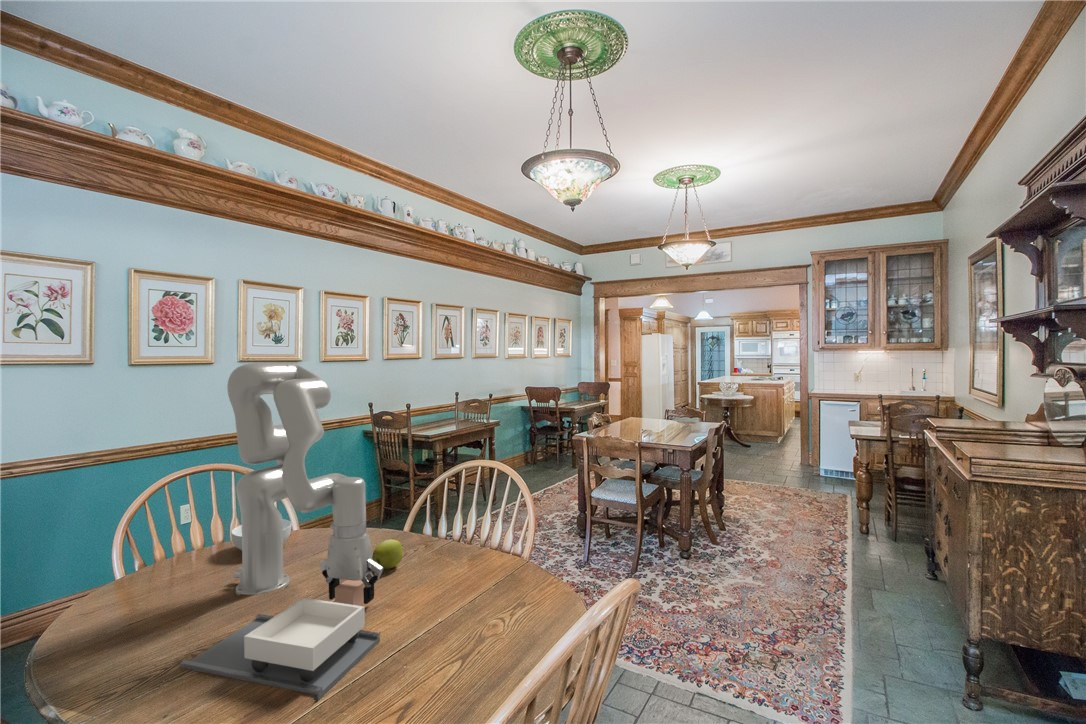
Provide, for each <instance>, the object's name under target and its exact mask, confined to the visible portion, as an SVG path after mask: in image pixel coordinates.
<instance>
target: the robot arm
mask: <svg viewBox="0 0 1086 724" xmlns="http://www.w3.org/2000/svg"><path fill="white" fill-rule="evenodd" d="M226 389H227V394H228V400H229V401H230V405H231V407H232V411H233V413H234V414H233V415H234V419H235V420H234V421H235V430H236V437H237V448H238V453H239V458H240V460H241V462H242V463H244V464H246V465H260V464H267V463H270V462H273V461H276V464H275V465H272V466H267V467H263V468H257V469H255V470H251V471H249V472H247V473H245V474H244V475H243V476H241V477H240V478H239V480H238V481H237V484H236V489H235V491H236V496H237V502H238V504H239V505H238V506H239V509H240V519H241V525H242V550H241V552H242V553H241V555H242V557H241V558H242V559H241V560H242V562H241V563H242V566H239V567H238V568H237V569H236V571H235V572H234V573H233V575H232V577H233V578H234V579H239V583H238V584H237V585H236V587H235V594H236V595H237V596H240V595H247V596H254V595H261V594H265V593H270V592H272V591H275V590H278V589H280V588H286V587H287V586H288V585H290V581H291V578H290V575H289V574H288V573H285V572H284V543H283V525H282V519H283V516H282V514H281V512H280V511H279V510H278V508H277V507H276V505H275V503H276V502H279V501H282V500H285V499H288V501H289V502H290V504H291V506H292V507H293V508H294V510H296V511H297V512H300V513H302V514H307V513H308V514H309V513H311V512H314V511H317V510H320V509H323V508H326V507H328V506H332V523H331V524H330V525H329V527H330V529H331V530H333V531H332V535H330V537H329V543H328V547H327V555H326V557H327V558H326V559H324V560H322V561H321V562H319V564H318V565H319V568H320V570H321V571H322V572H321V574H322V576H323V577H324V578H325V582H326V583H327V584H328V599H329V601H330V600H335V588H336V587H337V586H338V585H340V584H341V583H340V580H344V581H346V580H353V581H359V580H361V581H362V582H363V583H364V585H365V586H366V587H364V589H363V595H364V603H363V604H364V605H368V604H369V603H370V602H371V601H372V600H373V599H374V598H375V584H376V583H377V581H378V580H379V579H380V578H381V576H382V573H383V571H384V569H383V567H382V566H380V565H379V564H377V563H376V562H374V561H373V559H372V556H373V550H372V544H371V539H370V536H369V533H367V504H366V482H365V480H364V479H363V478H362V477H359V476H347V475H344V474H342V473H337V472H334V473H328V474H324V475H320V476H317V477H313V478H310V479H309V478H308V476H307V475H308V474H307V471H306V463H305V458H306V456H307V453H308V451H309V449H310V448H311V447H312V446H313V445H314V444H315V443H317V442H318V441H320V440H321V439H322V438H323V437H324V435H325V430H324V427H323V424H322V422H321V418H320V416H319V414H318V410H317V409H323V408H325V407H327V406H328V405H329V402H330V401H331V396H332V395H331V390H330V387H329V386H328V384H327V383H326V381H325V380H324V379H323V378H321V377H320V376H318V375H316V374H315V373H313V372H312V371H310V370H308V369H306V368H305V367H303V366H301V365H299V364H297V363H294V362H253V363H252V362H251V363H246V364H242V365H240V366H238V367H236V368H235V369H234V370H233V371H232V372H231V373H230V375H229V377H228V379H227V385H226ZM263 395H273V396H272V397H273V400H274V403H275V407H276V410H277V412H278V415H279V418H280V420H281V424H278V425H274V422H273V416H272V410H271V408H270V406H269V405H268V403H267V402H266V401H265V400H264V399H263V398H262V396H263ZM372 572H374V575H373V573H372Z"/></svg>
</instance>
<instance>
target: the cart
mask: <svg viewBox="0 0 1086 724" xmlns="http://www.w3.org/2000/svg"><path fill="white" fill-rule="evenodd" d="M365 611H366V608H365V606H363V605H360V606H357V605H350V604H344V603H337V602H335V601H330V600H329V601H328V600H321V599H316V598H308V597H302V598H301V599H299V600H298V601H296V602H294V603H293V604H291V605H290V606H288V607H287V608H285V609H284V610H282V611H281V612H279V613H278V614H276V615H274V616H275V617H273V618H271V619H270V620H268V621H267V622H265V623H264V624H262V625H261V626H259V627H258V628H256V629H255V630H253V631H252V632H250V633H248V634H247V635H245V636H244V656H245V658H247V659H252V663H251V664H252V668H253V669H254V671H256V672H261V671H262V670H264V669H265V668H266V667H267V666H268V663H274V664H279V665H284V666H290V667H295V668H300V671H299V675H300V678H301V679H302V680H303V681H305V682H308V681H310V680H311V679H312V678H313V677H314V676H315V675H316V668H317V667H318V666H319V665H321V664H322V663H323V662H324V661H325V660H326V659H327V658H329V657H330V656H331V655H332V654H333V653H334V652H336V651H337V650H338V649H339V648H340V647H341V646H342V645H344V644H345V643H346V642H347V641H348V642H354V641H355V640H356V639H357V638H358V637H359V631H360V630H363V628H365V626H366V622H365V620H366V619H365V618H366V617H365V615H366V614H365Z"/></svg>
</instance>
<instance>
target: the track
mask: <svg viewBox="0 0 1086 724" xmlns="http://www.w3.org/2000/svg"><path fill="white" fill-rule="evenodd" d="M275 616H276V615H269V614H268V615H267V614H261V613H259V614H257V615H255V617H254V619H253V621H251V622H249V623H248V624H246V625H245V626H243V627H241V628H240V629H238V630H237V631H235V632H234V633H232V634H229V636H226V637H225V638H223V639H222V640H221V641H219V642H218V643H216V644H215V645H214V644H213V646H211V647H209V648H208V649H207V650H205V651H203V652H201V653H200V654H198V655H196V656H195V657H194V658H192V659H190V660H189V659H188V660H187V659H185V660H182V661H180V662H179V668H181V669H187V670H193V671H197V672H201V673H206V674H212V675H216V676H221V677H226V678H232V679H236V680H242V681H246V682H251V683H256V684H261V685H266V686H271V687H275V688H281V689H286V690H290V691H296V692H301V693H306V694H309V695H315V697H313V701H320V700H321V699H322V698H323V697H324V696H325V695H326V694H327V693H328V692H329V691H330V690H331V689H333V687H335V685H336V684H337V683H339V681H340V680H342V679H343V678H344V676H345V675H347V674H348V673H349V672H350V671H351V670H352V669H353V668H354V667H355V666H356V665H357V664H358V663H359V662H360V661H361V660H362V659H363V658H364V657H366V655H367V654H369V653H370V651H371V650H372V649H374V648H375V647H376V646H377V645H378V644H379V643H380V641H381V638H380V637H381V634H380V632H377V631H376V632H374V631H369V630H365V629H364V630H363V629H361V630H360V631H359V637H358V638H357V639H356V640H355V641H354V642H348V641H347V642H346V643H345V644H344V645H342V646H341V647H340V648H339V649H338V650H337V651H336V652H334V653H333V654H332V655H331V656H330V657H329V658H327V659H326V660H325V661H324V662H323V663H322V664H321V665H319V666H318V667H317V668H316V675H315V676H314V677H313V678H312V679H311V680H310V681H308V682H305V681H303V680H302V679H301V678H300V675H299V671H300V668H295V667H290V666H284V665H279V664H274V663H268V666H267V667H266V668H265V669H264V670H262V671H261V672H256V671H254V669H253V668H252V664H251V663H252V659H247V658H245V656H244V636H245V635H247V634H248V633H250V632H252V631H253V630H255V629H256V628H258V627H259V626H261V625H262V624H264V623H265V622H267V621H268V620H270V619H271V618H273V617H275Z"/></svg>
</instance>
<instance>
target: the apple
mask: <svg viewBox="0 0 1086 724" xmlns="http://www.w3.org/2000/svg"><path fill="white" fill-rule="evenodd" d="M403 556H404V549H403V545H402V543H401V542H400V541H398V540H396V539H392V538H391V539H385V540H383V541H382V542H380V543H379V544H378V545H377V546H376V547H375V548H374V550H373V551H372V560H373V561H374V562H376V563H377V564H379V565H380V566H382V567H383V570H385V569H386V570H390V569H392V568H395V567H396V566H397V565H399V564H400V563H401V561H402V559H403Z"/></svg>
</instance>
